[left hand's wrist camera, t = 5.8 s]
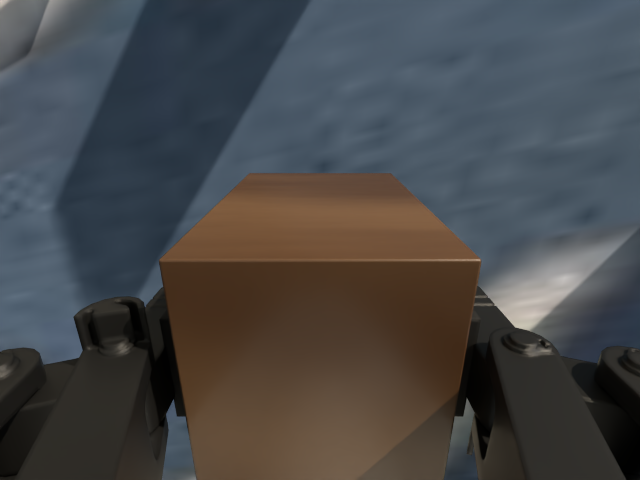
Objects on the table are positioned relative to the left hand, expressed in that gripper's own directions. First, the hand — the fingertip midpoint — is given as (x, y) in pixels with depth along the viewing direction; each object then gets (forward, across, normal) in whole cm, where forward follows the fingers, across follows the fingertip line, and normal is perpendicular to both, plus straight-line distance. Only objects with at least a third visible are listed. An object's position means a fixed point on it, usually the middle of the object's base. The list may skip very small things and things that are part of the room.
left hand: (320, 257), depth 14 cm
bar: (0, 0, -9) cm, 9 cm away
